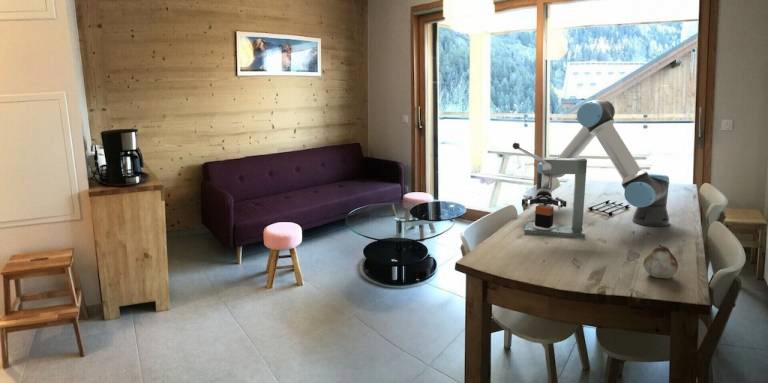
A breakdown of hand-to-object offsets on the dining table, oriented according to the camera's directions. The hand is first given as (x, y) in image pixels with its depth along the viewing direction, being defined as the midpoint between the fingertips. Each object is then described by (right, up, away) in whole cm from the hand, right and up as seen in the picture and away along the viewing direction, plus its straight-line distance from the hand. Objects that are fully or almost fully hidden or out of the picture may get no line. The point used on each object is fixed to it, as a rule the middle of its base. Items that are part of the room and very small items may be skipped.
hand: (543, 206), depth 225 cm
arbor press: (-1, -11, -5) cm, 12 cm away
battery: (-2, -9, -5) cm, 10 cm away
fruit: (+20, -22, -58) cm, 65 cm away
